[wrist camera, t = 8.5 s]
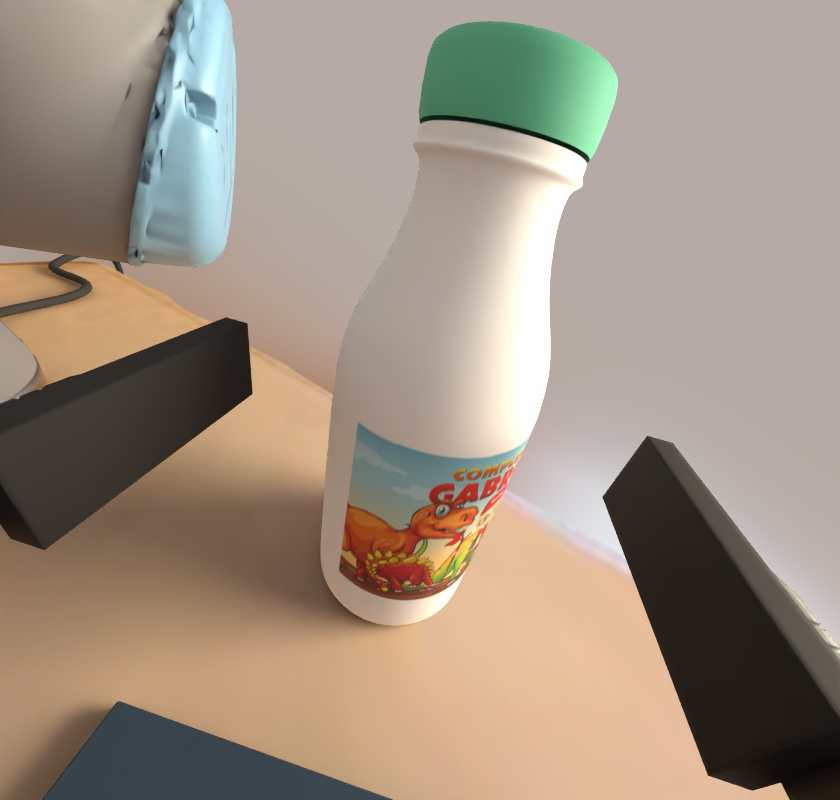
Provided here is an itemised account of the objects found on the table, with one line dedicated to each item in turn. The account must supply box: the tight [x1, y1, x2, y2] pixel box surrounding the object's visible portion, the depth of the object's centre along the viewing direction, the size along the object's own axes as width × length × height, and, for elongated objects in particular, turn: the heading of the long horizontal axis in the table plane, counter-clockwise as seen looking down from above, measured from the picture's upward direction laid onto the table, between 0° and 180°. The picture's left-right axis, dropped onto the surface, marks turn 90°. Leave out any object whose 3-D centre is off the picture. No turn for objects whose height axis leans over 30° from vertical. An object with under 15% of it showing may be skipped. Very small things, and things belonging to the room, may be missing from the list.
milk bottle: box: [321, 21, 618, 626], centre depth 13 cm, size 8×8×20 cm
